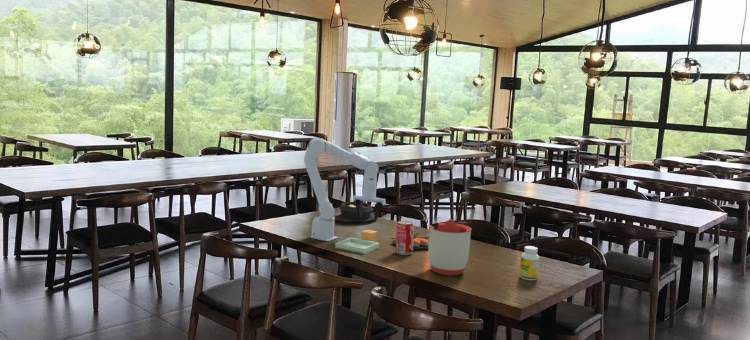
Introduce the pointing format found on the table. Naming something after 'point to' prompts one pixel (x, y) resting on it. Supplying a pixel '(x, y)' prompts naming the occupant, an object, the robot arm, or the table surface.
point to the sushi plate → (418, 242)
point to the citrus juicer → (449, 247)
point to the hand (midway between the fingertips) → (368, 218)
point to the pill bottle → (529, 263)
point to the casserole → (355, 213)
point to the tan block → (369, 235)
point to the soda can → (404, 237)
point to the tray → (357, 245)
